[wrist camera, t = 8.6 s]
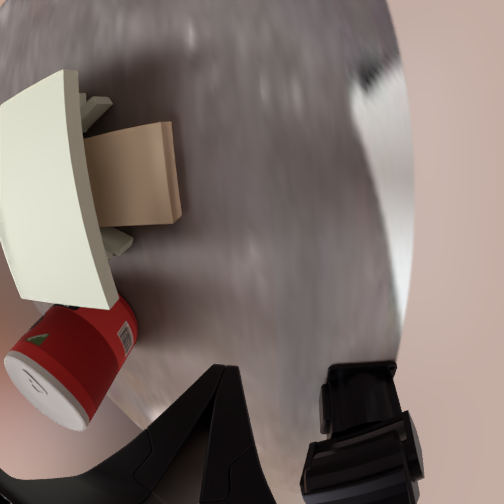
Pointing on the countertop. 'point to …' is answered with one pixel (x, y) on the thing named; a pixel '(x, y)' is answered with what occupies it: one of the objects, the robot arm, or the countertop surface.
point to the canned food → (72, 359)
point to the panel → (134, 176)
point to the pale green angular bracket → (54, 197)
